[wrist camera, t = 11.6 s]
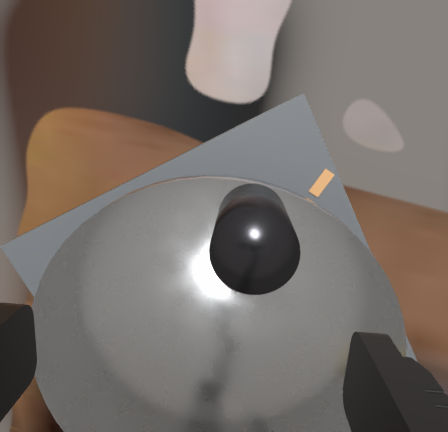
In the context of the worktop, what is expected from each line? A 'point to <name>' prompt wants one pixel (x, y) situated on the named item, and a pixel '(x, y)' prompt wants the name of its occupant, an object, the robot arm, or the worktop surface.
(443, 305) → the worktop surface
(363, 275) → the handwheel
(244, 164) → the wheel base
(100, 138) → the worktop surface
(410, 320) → the worktop surface
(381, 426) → the robot arm
